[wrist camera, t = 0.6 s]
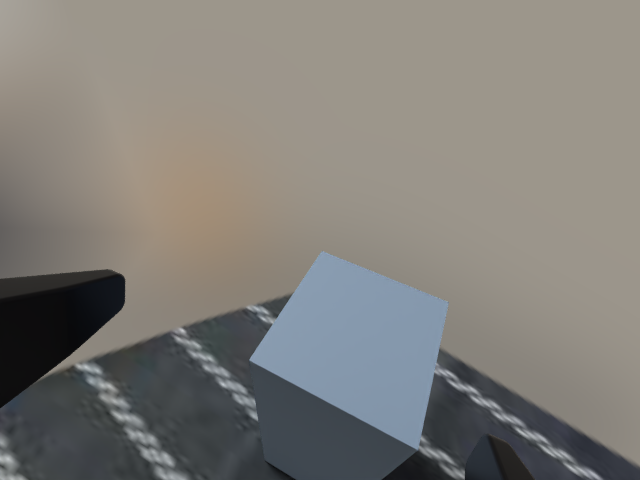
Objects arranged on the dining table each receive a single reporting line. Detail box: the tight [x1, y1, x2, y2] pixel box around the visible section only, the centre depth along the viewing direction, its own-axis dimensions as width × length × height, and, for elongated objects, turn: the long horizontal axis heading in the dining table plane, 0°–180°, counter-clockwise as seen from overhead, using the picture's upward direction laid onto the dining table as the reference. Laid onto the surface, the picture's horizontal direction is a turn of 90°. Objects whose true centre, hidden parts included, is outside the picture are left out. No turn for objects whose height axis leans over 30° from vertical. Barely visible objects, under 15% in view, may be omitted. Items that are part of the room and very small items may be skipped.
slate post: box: [249, 251, 449, 480], centre depth 15 cm, size 5×5×13 cm
